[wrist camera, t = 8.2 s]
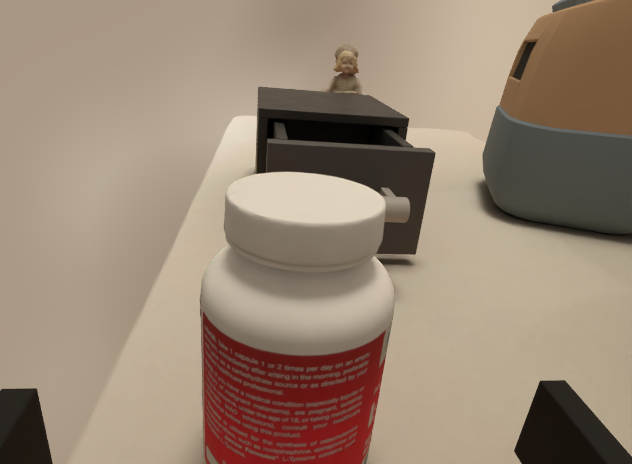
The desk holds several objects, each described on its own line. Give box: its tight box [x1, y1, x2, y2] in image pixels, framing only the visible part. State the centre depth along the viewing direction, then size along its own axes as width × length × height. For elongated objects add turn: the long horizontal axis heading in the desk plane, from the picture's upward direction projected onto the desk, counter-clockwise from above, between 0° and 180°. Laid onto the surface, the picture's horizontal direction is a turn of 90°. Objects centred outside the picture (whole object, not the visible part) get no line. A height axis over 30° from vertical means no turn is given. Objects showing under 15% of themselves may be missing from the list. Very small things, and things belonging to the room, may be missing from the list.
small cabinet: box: [255, 87, 409, 174], centre depth 45 cm, size 15×13×10 cm
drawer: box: [266, 118, 435, 254], centre depth 35 cm, size 18×11×8 cm, turn 7°
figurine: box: [321, 45, 366, 95], centre depth 65 cm, size 11×10×15 cm
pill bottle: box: [200, 172, 395, 464], centre depth 15 cm, size 6×6×11 cm
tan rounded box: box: [483, 0, 632, 234], centre depth 45 cm, size 17×17×23 cm
